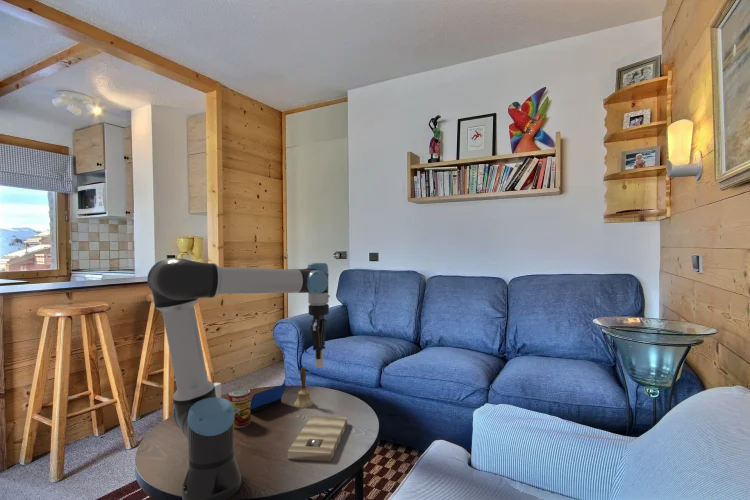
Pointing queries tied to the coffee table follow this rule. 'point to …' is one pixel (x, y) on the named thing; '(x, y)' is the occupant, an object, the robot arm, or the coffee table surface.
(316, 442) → the ball
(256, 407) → the handheld game console
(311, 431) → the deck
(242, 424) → the canned food
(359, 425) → the coffee table surface
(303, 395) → the hand bell
